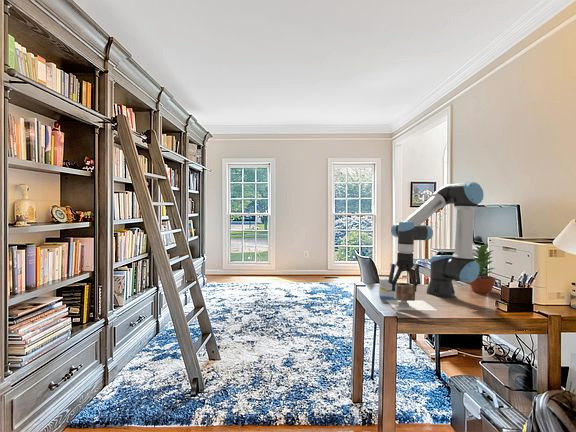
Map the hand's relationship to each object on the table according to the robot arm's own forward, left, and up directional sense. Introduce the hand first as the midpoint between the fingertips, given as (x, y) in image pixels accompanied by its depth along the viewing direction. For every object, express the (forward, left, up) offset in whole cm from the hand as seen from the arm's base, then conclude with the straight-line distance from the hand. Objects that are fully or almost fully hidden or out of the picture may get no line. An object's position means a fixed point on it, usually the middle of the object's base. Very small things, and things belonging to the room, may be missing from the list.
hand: (403, 298), depth 175 cm
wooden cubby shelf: (0, 0, 0) cm, 0 cm away
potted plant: (-62, -41, -5) cm, 75 cm away
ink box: (+3, -17, -5) cm, 18 cm away
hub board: (-4, -2, -5) cm, 7 cm away
